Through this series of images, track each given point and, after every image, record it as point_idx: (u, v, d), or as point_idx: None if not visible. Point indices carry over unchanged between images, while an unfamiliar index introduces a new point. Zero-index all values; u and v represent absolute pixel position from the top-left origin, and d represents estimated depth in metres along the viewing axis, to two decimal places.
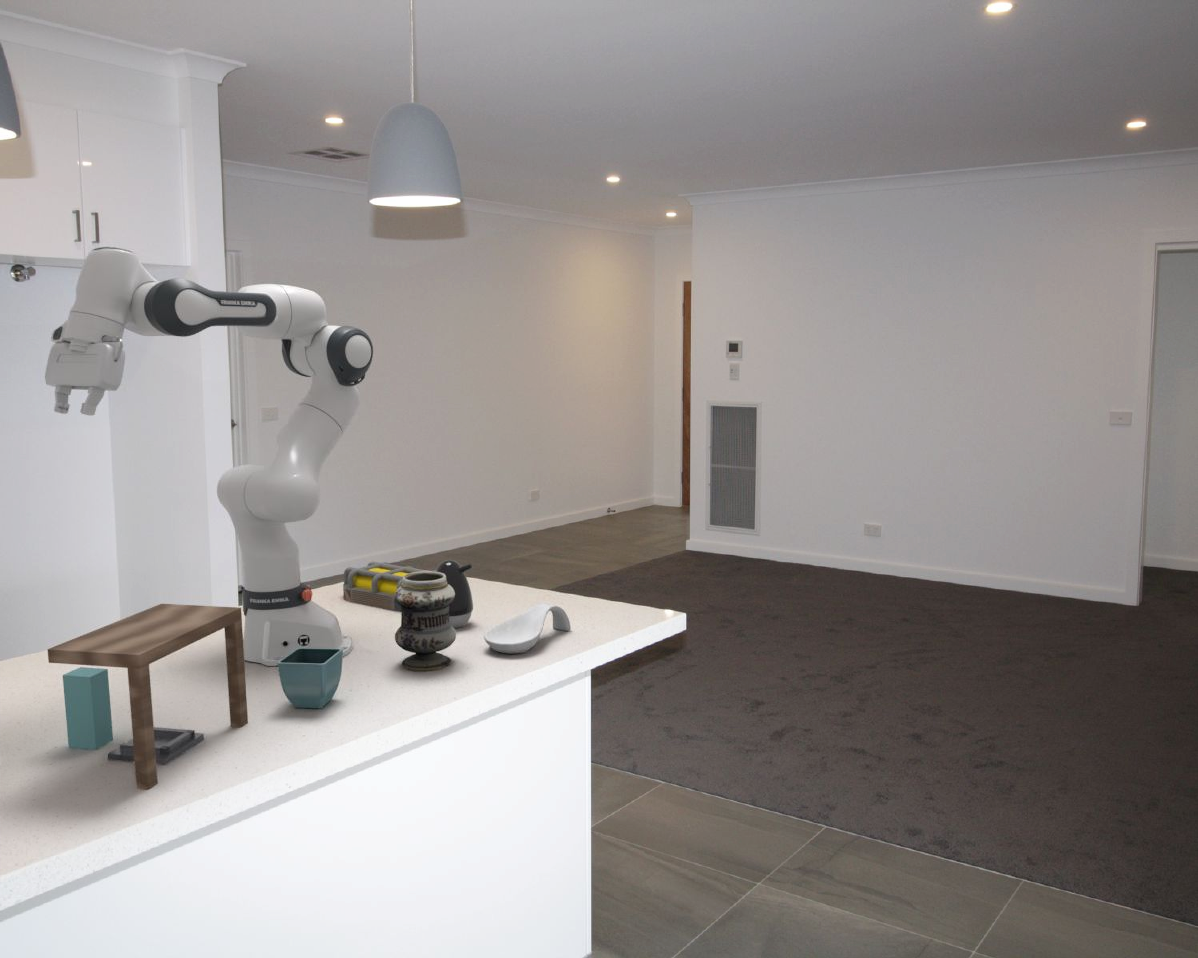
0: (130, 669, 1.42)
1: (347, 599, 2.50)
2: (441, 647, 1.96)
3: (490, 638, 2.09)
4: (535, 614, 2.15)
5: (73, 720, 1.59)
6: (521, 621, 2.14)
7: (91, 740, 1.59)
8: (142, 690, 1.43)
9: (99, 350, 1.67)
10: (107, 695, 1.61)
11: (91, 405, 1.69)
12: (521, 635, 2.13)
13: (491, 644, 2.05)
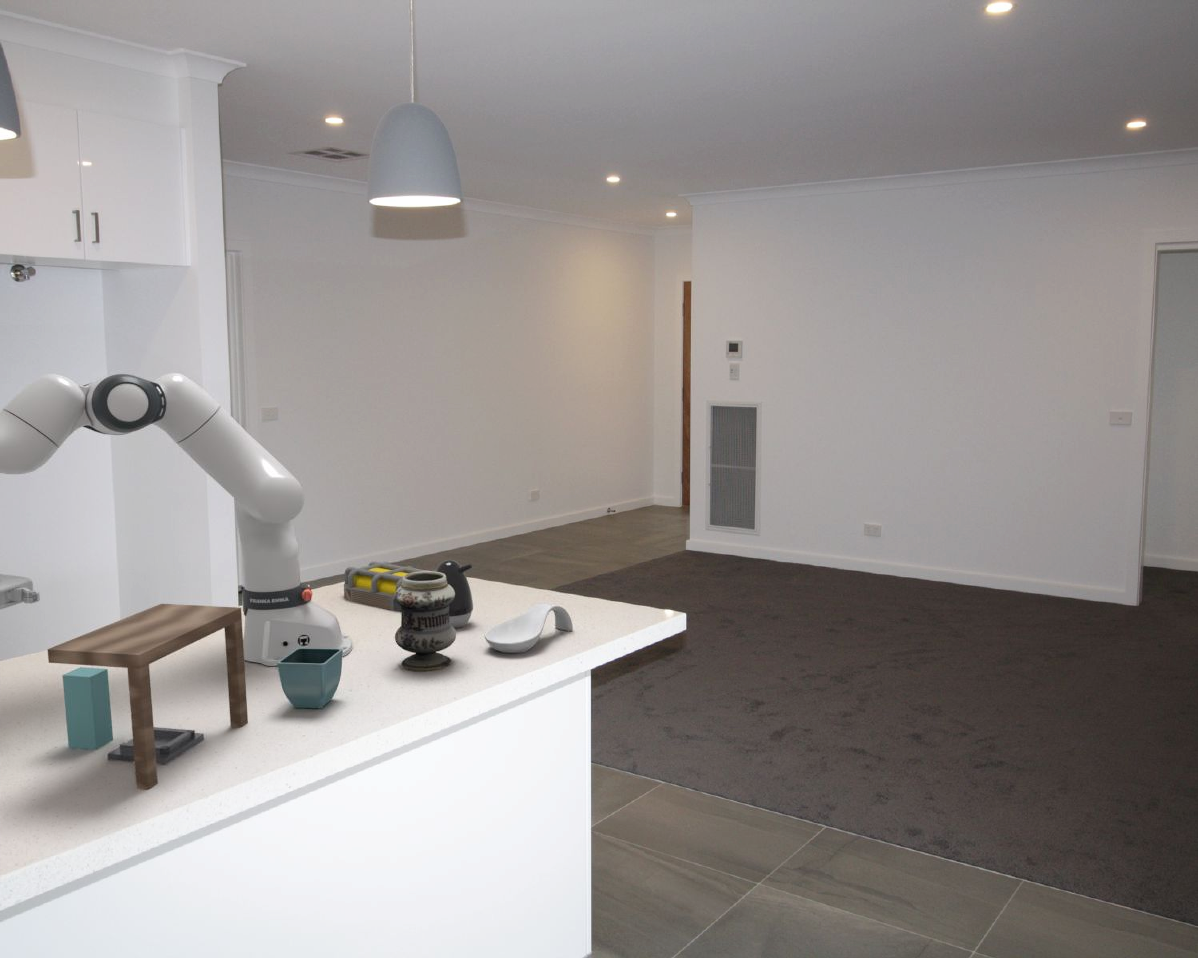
0: (130, 669, 1.42)
1: (347, 599, 2.50)
2: (441, 647, 1.96)
3: (491, 637, 2.09)
4: (536, 614, 2.15)
5: (73, 720, 1.59)
6: (522, 621, 2.15)
7: (91, 740, 1.59)
8: (142, 690, 1.43)
9: None
10: (107, 695, 1.61)
11: None
12: (522, 634, 2.13)
13: (491, 643, 2.05)
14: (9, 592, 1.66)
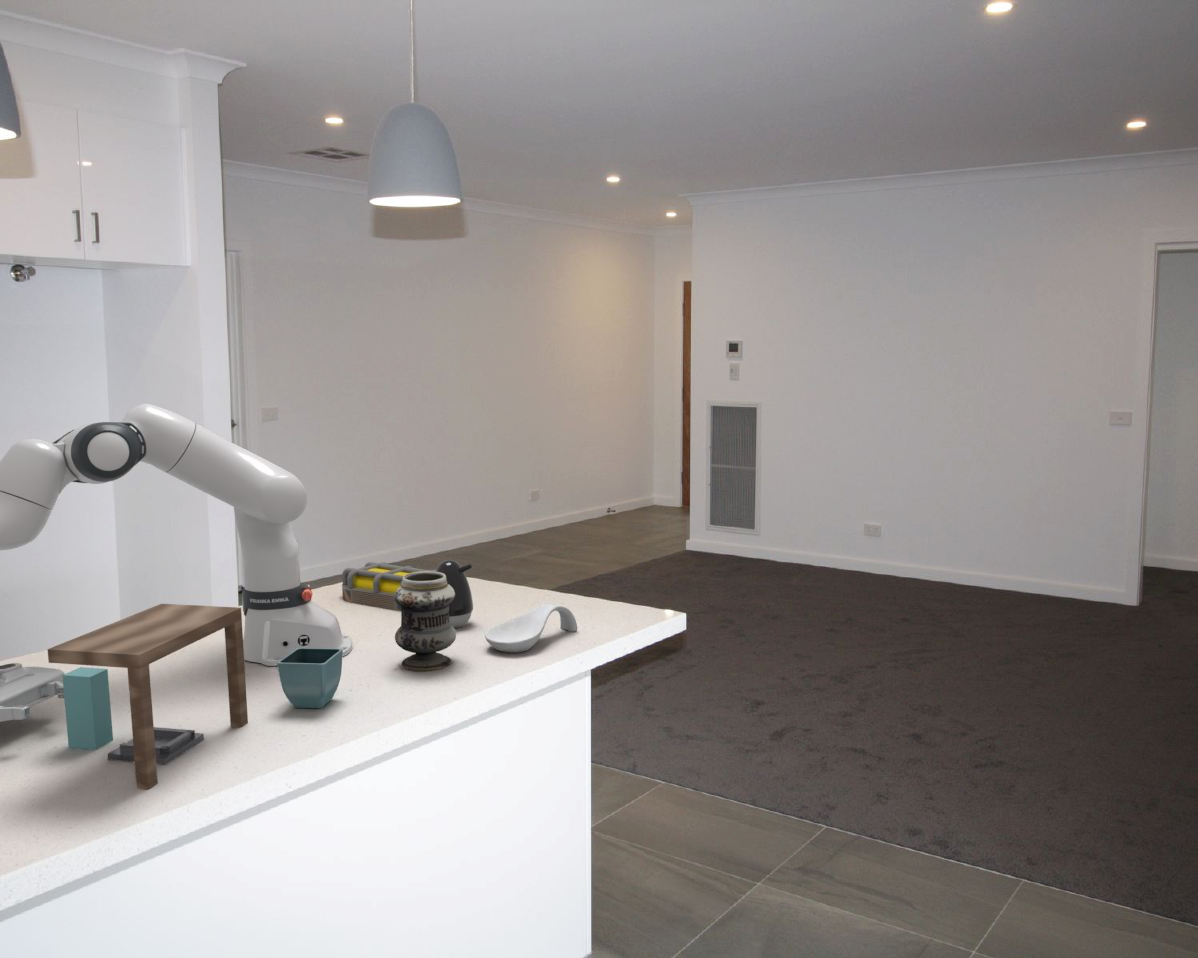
0: (130, 669, 1.42)
1: (347, 600, 2.49)
2: (441, 647, 1.96)
3: (491, 636, 2.10)
4: (539, 614, 2.15)
5: (72, 720, 1.59)
6: (525, 620, 2.15)
7: (91, 740, 1.59)
8: (142, 690, 1.43)
9: None
10: (107, 695, 1.61)
11: (13, 713, 1.57)
12: (524, 634, 2.13)
13: (490, 642, 2.06)
14: (43, 687, 1.68)
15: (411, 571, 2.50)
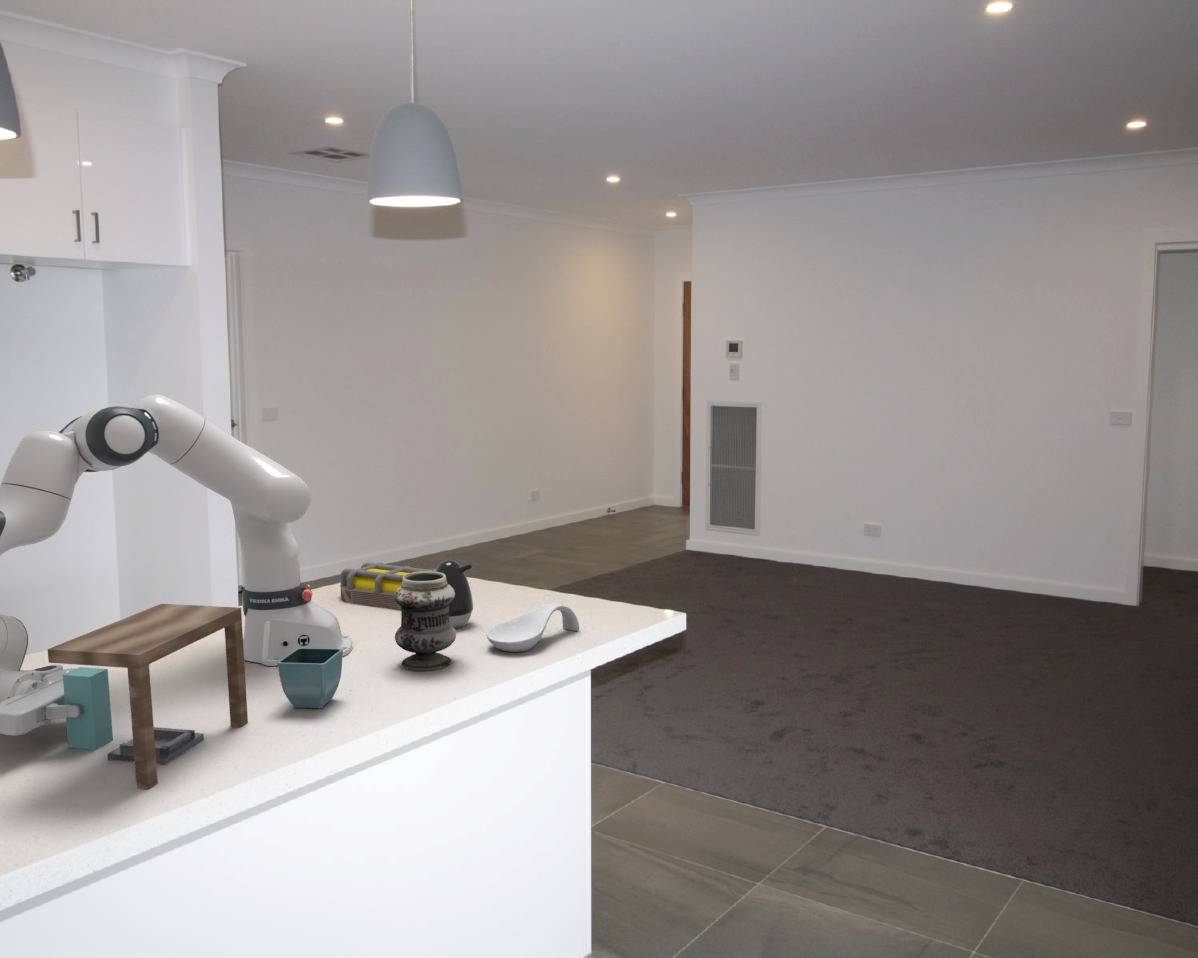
0: (130, 669, 1.42)
1: (346, 600, 2.48)
2: (441, 647, 1.96)
3: (493, 636, 2.11)
4: (541, 613, 2.16)
5: (73, 720, 1.59)
6: (526, 620, 2.15)
7: (91, 740, 1.59)
8: (142, 690, 1.43)
9: None
10: (107, 695, 1.61)
11: (68, 711, 1.57)
12: (526, 633, 2.14)
13: (492, 642, 2.06)
14: None
15: (411, 571, 2.51)
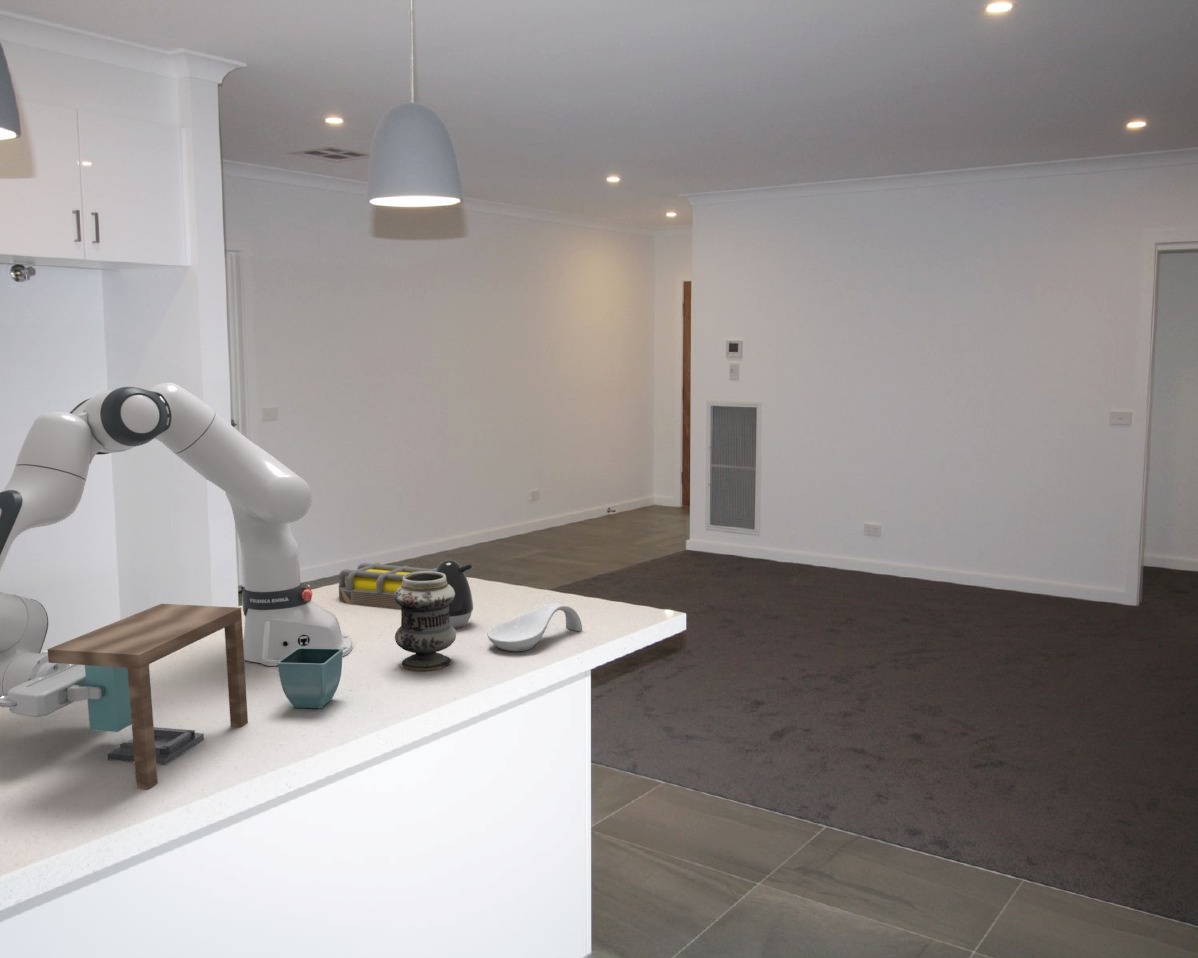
0: (130, 669, 1.42)
1: (346, 601, 2.48)
2: (441, 647, 1.96)
3: (494, 635, 2.11)
4: (543, 613, 2.16)
5: (94, 702, 1.58)
6: (528, 619, 2.16)
7: (112, 722, 1.58)
8: (142, 690, 1.43)
9: None
10: None
11: (89, 693, 1.56)
12: (527, 633, 2.14)
13: (492, 641, 2.07)
14: None
15: (411, 570, 2.51)
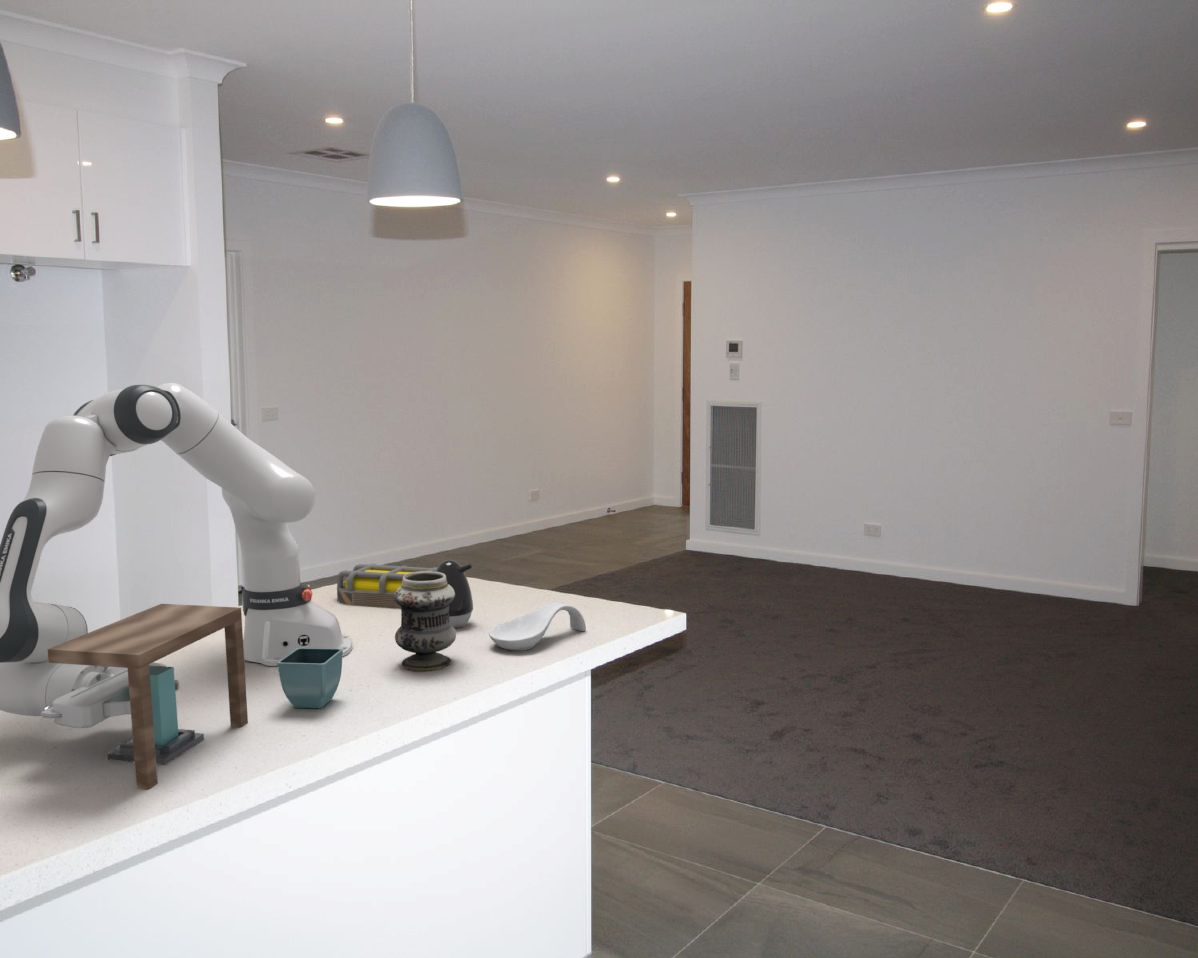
0: (130, 669, 1.42)
1: (347, 603, 2.46)
2: (441, 647, 1.96)
3: (496, 633, 2.12)
4: (546, 613, 2.16)
5: None
6: (531, 619, 2.16)
7: (158, 740, 1.56)
8: (142, 690, 1.43)
9: None
10: (173, 694, 1.59)
11: (125, 708, 1.52)
12: (529, 632, 2.14)
13: (493, 639, 2.08)
14: None
15: (410, 570, 2.52)
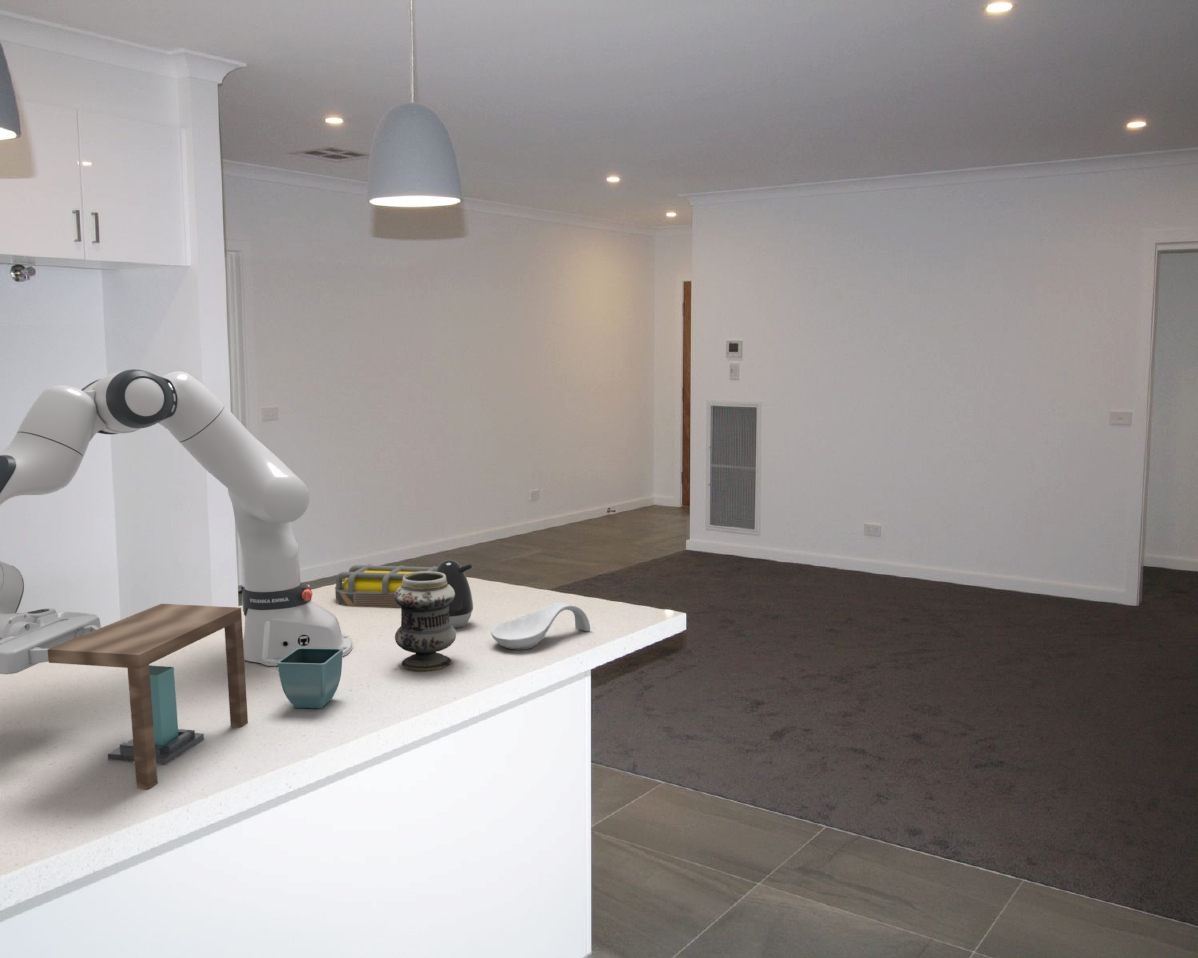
0: (130, 669, 1.42)
1: (348, 604, 2.45)
2: (441, 647, 1.96)
3: (499, 632, 2.13)
4: (549, 612, 2.16)
5: None
6: (535, 618, 2.17)
7: (158, 740, 1.56)
8: (142, 690, 1.43)
9: None
10: (173, 694, 1.59)
11: None
12: (532, 631, 2.15)
13: (494, 638, 2.09)
14: (78, 631, 1.65)
15: (410, 570, 2.52)
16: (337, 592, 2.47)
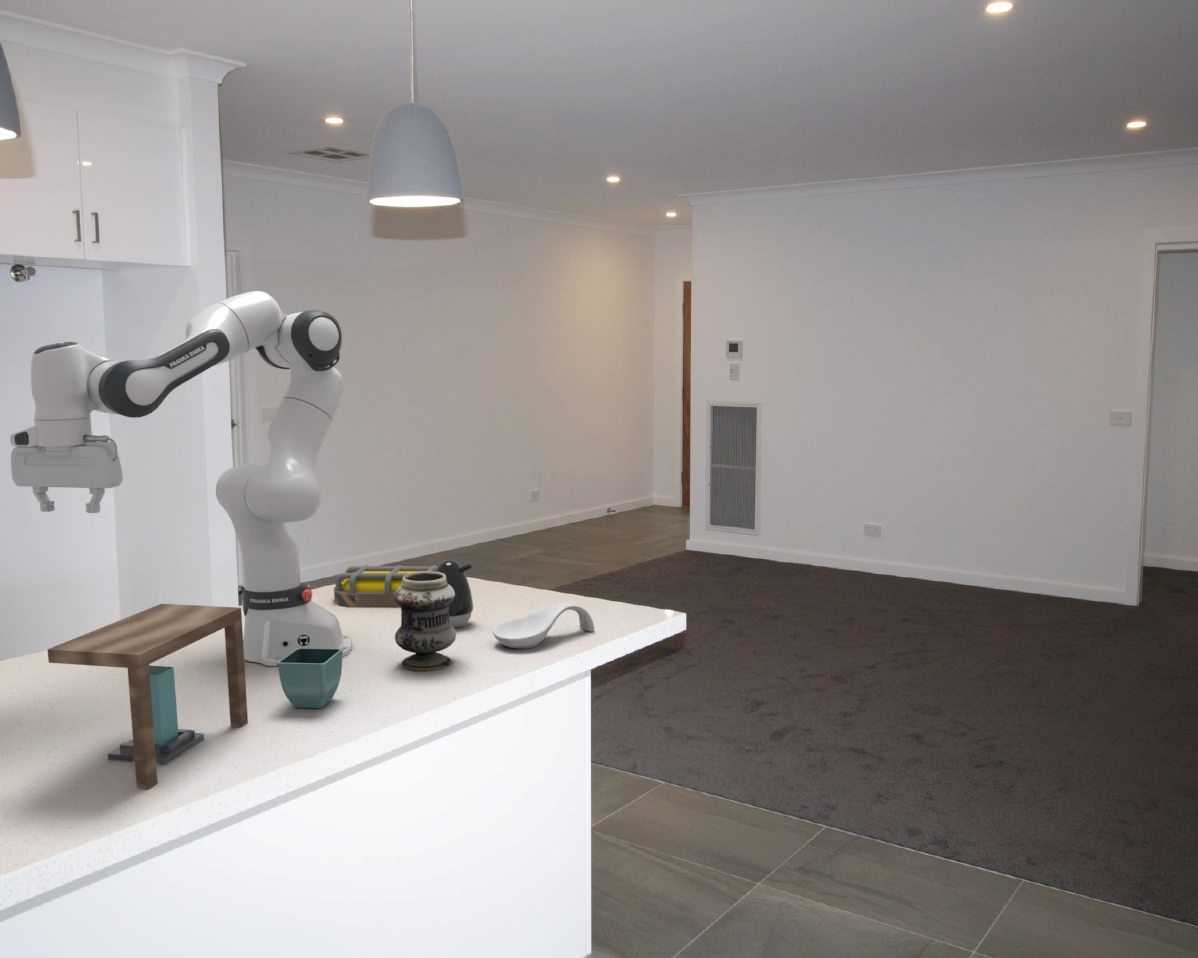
0: (130, 669, 1.42)
1: (349, 605, 2.44)
2: (441, 647, 1.96)
3: (501, 631, 2.14)
4: (552, 612, 2.17)
5: None
6: (538, 618, 2.17)
7: (158, 740, 1.56)
8: (142, 690, 1.43)
9: (93, 454, 1.74)
10: (173, 694, 1.59)
11: (96, 503, 1.78)
12: (535, 631, 2.15)
13: (495, 637, 2.09)
14: None
15: (409, 569, 2.52)
16: (337, 593, 2.46)
